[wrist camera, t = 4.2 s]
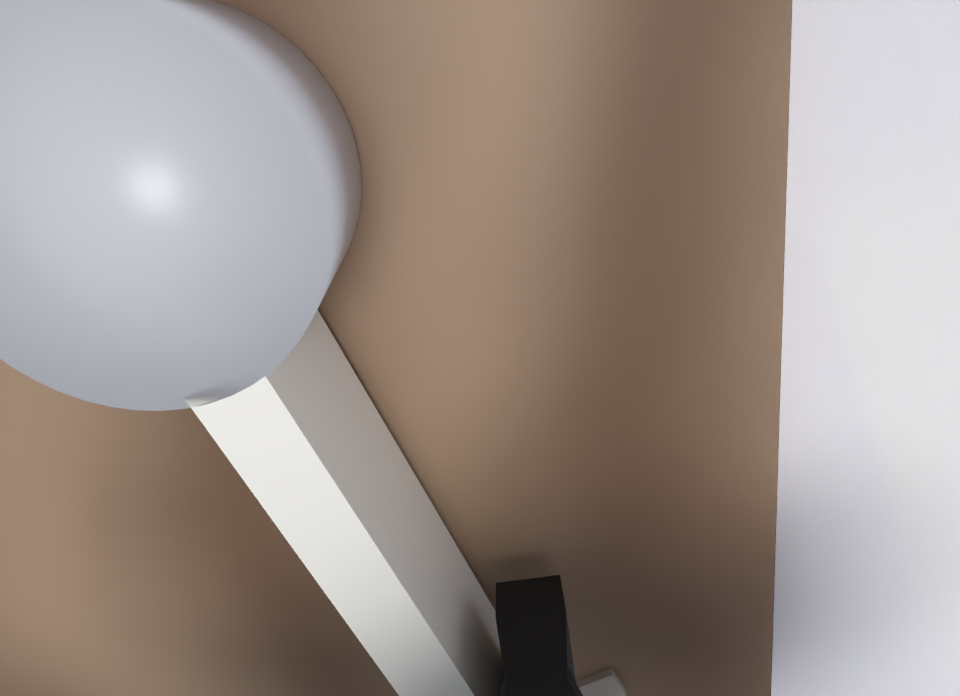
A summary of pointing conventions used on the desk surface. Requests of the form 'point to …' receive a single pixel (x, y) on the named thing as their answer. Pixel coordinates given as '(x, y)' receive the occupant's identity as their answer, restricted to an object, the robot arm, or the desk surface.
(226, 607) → the dial board
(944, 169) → the desk surface
